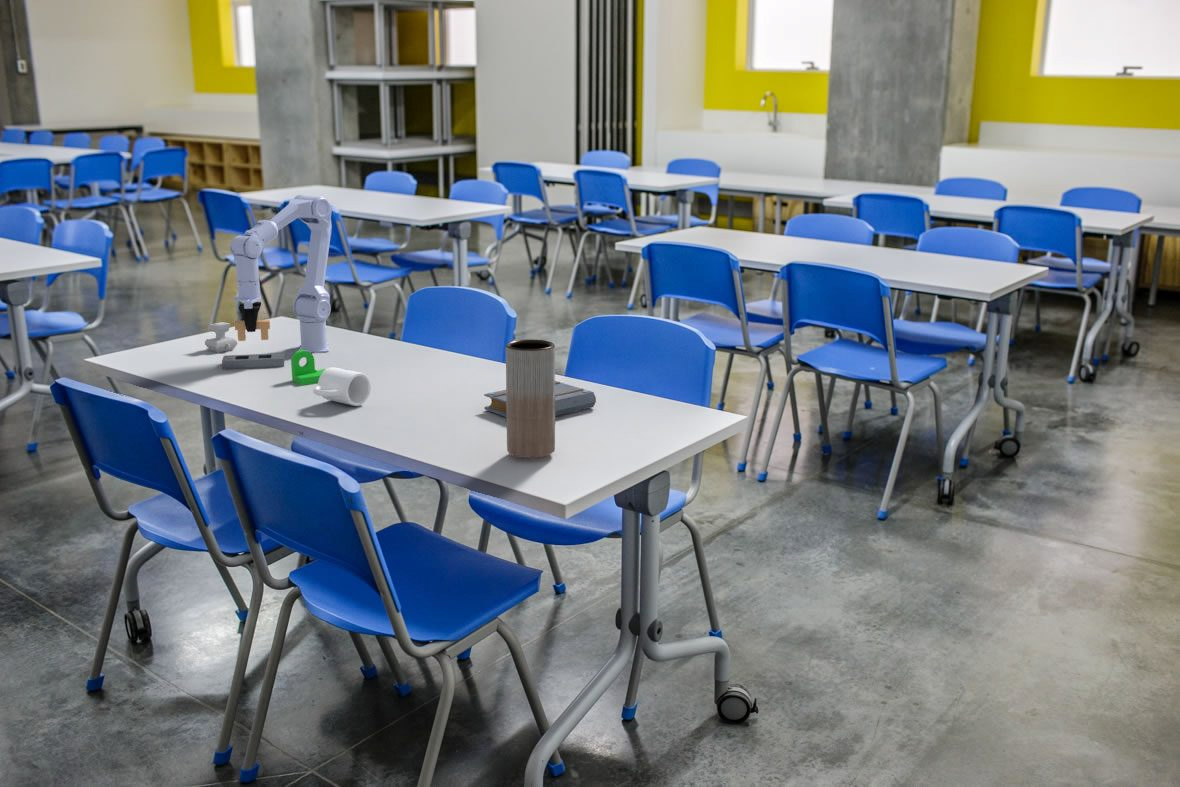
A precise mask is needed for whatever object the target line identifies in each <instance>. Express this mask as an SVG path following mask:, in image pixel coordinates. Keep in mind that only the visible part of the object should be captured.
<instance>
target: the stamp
mask: <svg viewBox="0 0 1180 787" xmlns="http://www.w3.org/2000/svg"><path fill="white" fill-rule="evenodd" d="M230 329H231V323H228V322H224V321H222V322H215V323H210V324H209V330H210V331H211V332H212V333H215V337H212V338H206V339H205V341H204V345H205V347H206V348H208V350H209V351H212V352H215V351H216V352H215V353H218V352H219V353H224V351H225V352H229V350H230V351H233V350H234V349H235V348H236V346H238V340H236V339H235V338H233V337H228V336H226V333H228V332H229V330H230Z"/></svg>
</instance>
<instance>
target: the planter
mask: <svg viewBox="0 0 1180 787" xmlns="http://www.w3.org/2000/svg"><path fill="white" fill-rule="evenodd" d="M555 381H556V345H555V343H554V342H552V341H549V340H543V339H518V340H513V341H510V342H508V343H506V345H505V387H506V388H505V390H506V411H507V417H506V450H507V452H508V453H509V454H510V455H512V456H515V457H519V458H526V459H527V458H529V459H530V458H542V457H547V456H550V455H551V454H553V453H554V452H555V449H556V416H555Z"/></svg>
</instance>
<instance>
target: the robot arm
mask: <svg viewBox="0 0 1180 787" xmlns="http://www.w3.org/2000/svg"><path fill="white" fill-rule="evenodd" d="M332 212H333V206H332V205H331V203H330V201H329V200H328V198H326V197H325V196H311V195H310V196H309V195H304V194H302V195H301V194H299V195H296V196H294V197H293V198H291V199H289V202H288V204H287V205H286V206H285V207H284V208H283V209H281V210H280V211H279V212H278V213H277V214H276V215H274V216H273V217H272V218H271V219H270V220H267V219H263V220H262V219H260V220H258V221H256V223H257V224H256V225H254V226H253V227H252V228H251V229H248V230H246V231H245V232H244V234H243V235H240V234H239V235H236V236H235V237H234V238H233V239H232V240H231V243H230V246H229V247H228V248H229V251H230V253H231V254H232V256H233V260H234V262H235V269H236V270H235V271H236V284H237V296H233V301H238V302H240V304H239V305H238V306H237V308H238V311H239V312H240V314H241V316H242V318H243V321H244V322H245V326H246V329H247V330H246V331H247V333H255V332H256V330H257V329H256V324H257V320H258V317H259V311H260V309H261V308H262V307H261V306H262V302H261V300H262V296H261V285H260V272H259V258H258V257H260V256H261V254H262V252H263V249H264V247H266V246H267V245H268V244H269V243H271V242H272V241H274V240H275V239H277V238H278V235H279V231H280V230H281V229H283V228H284V227H286V226H287V225H289V224H291V223H292V222H294V221H296V219H298V220H300V221H301V222H302V223H304V224H306V225H307V227H308V228H309V230H310V238H309V239H310V240H309V247H308V255H307V261H306V262H307V263H306V269H305V277H304V285H303V286H301V287H299V289H298V290H297V294H296V297H295V299H294V301H293V304H292V305H293V306H292V310H293V313H294V314H295V316H297V319H298V321H299V332H300V345H299V350H305V351H308V352H310V353H311V354H312V353H313V354H314V353H316V354H317V353H329V352H330V351H329V344H328V343H327V341H328V340H327V328H326V327H327V322H326V321H327V320H328V318H329V316H330V314H331V311H332V306H331V303H330V302H331V299H330V298H331V295H330V293H329V292H328V290H326V289H325V281H326V275H327V274H326V273H327V265H328V258H329V250H330V242H331V237H332V228H333V227H332V219H331V218H332Z"/></svg>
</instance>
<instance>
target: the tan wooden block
mask: <svg viewBox="0 0 1180 787" xmlns="http://www.w3.org/2000/svg"><path fill="white" fill-rule="evenodd" d="M270 322H271V320H270V319H257V324H256V330H260V339H261V341H268V340H269V338H270V336H269V330H270V329H271V323H270ZM234 330H235V331H237V339H238V340H237V342H245V341H246V339H247V336H246V331H247V329H246V326H245V322H244V320H235V321H234Z"/></svg>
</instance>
